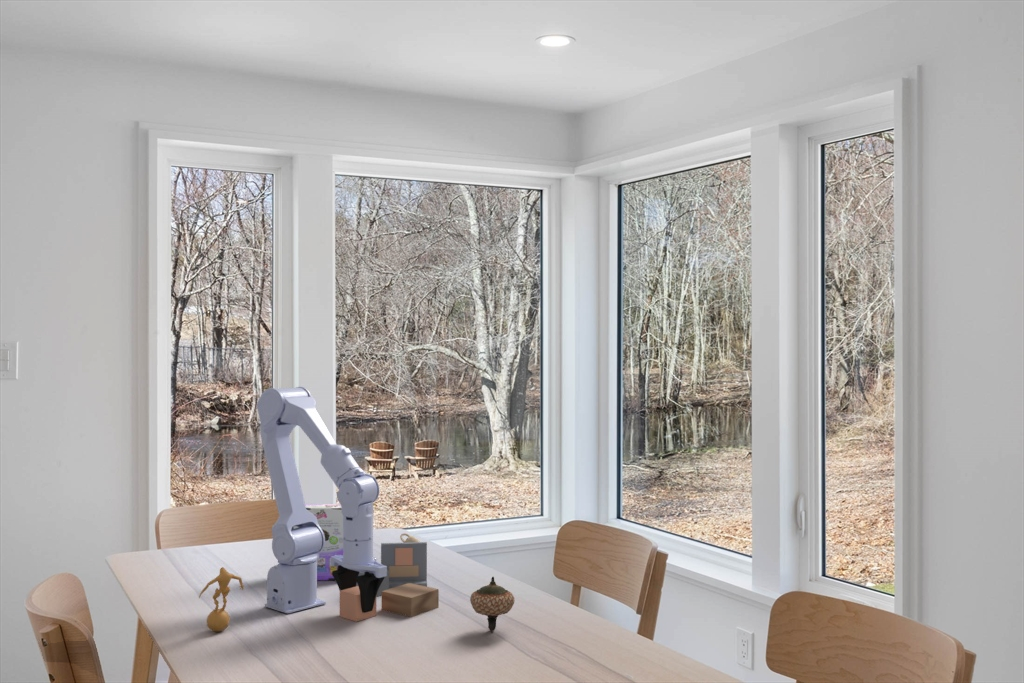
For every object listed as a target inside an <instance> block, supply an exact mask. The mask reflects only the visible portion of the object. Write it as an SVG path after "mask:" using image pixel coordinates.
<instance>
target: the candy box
mask: <svg viewBox="0 0 1024 683" xmlns="http://www.w3.org/2000/svg"><path fill="white" fill-rule="evenodd" d="M305 506H306V509H307V510H308V511H309V512H310V513H312V514H313V515H314V516H316V517H317V521H318V524H319V526H320V528H321V529H322V531H323V533H324V536H325V546H324V548H323V550H322V551H321V552H320V553H319V558H318V559H317V581H336V580H335V579H334V577H333V575H332V571H335V570H337V569H338V566H336V567H333V566H331V556H335V555H342V556H343V513H342V509H341V505H340V503H339V504H338V503H305ZM295 528H299V527H297V526H294V527H292V529H295Z"/></svg>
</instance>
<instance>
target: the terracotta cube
mask: <svg viewBox="0 0 1024 683" xmlns="http://www.w3.org/2000/svg"><path fill="white" fill-rule="evenodd" d="M376 616H377V597H376V598H375V602H374V606H373V610H372V611H369V612H366V613H363V612H362V608H361V597H360V590H359V586H356V587H352V588H348V589H344V590H339V617H340V618H344V619H346V620H349V621H353V622H359V621H363V620H366V619H369V618H373V617H376Z"/></svg>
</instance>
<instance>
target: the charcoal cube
mask: <svg viewBox="0 0 1024 683" xmlns="http://www.w3.org/2000/svg"><path fill="white" fill-rule="evenodd" d="M361 575H364V573H362V572H359V575H358V576H361ZM356 586H358V583H356ZM388 589H390V588H389V571H388V570H387V576H385V577H384V580H383V581H382V583H381V585H380V587H379V589H378V592H377V595H376V598H378V597H382V591H384V590H388Z"/></svg>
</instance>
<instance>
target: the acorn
mask: <svg viewBox="0 0 1024 683" xmlns="http://www.w3.org/2000/svg"><path fill="white" fill-rule="evenodd" d="M469 601H470V604H471V607H472V609H473V610H474V611H475V613H476V614H479V615H482V616H485V617H486V616H487V618H486V620H487V623H488V624H487V626H488V627H487V628H488V630H489V631H490V632H494V631H495V630H496V628H497V618H498V617H499V616H501V615H505V614H508V613H509V612H510V611H511V610H512V608H513V607H514V604H515V596H514V595H513V593H512V592H511V591H509V590H508V589H505V588H504V587H503V586H501V585H498V584H497V583H496V581H495V577H494V576H492V577H491V579H490V582H489V584H488V585H485V586H482V587H480V588H479V589H477V590H475V591H473V592H472V593H471V594H470V600H469Z"/></svg>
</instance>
